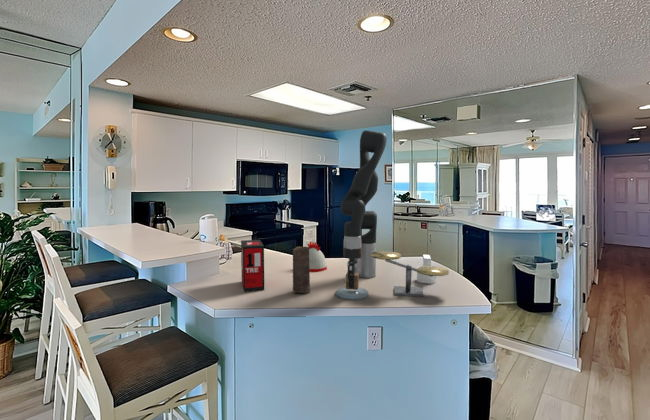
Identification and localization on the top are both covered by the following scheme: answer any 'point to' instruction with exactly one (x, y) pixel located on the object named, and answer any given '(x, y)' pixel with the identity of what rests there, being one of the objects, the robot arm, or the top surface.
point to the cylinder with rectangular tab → (426, 278)
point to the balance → (409, 273)
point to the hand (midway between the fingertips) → (352, 285)
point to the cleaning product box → (252, 265)
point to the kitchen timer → (316, 258)
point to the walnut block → (356, 281)
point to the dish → (352, 293)
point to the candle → (301, 270)
